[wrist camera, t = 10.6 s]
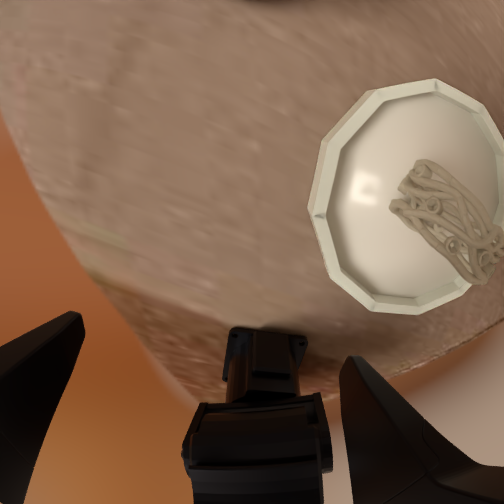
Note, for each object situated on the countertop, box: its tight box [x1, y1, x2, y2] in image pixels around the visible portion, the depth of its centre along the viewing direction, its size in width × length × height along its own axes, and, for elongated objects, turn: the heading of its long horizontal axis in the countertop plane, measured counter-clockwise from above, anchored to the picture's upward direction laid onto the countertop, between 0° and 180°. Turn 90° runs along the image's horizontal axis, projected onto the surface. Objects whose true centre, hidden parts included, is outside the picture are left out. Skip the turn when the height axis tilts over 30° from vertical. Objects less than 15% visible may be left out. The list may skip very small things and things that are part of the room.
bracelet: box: [388, 159, 504, 285], centre depth 15 cm, size 4×8×8 cm, turn 62°
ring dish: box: [307, 78, 504, 315], centre depth 18 cm, size 17×17×2 cm
